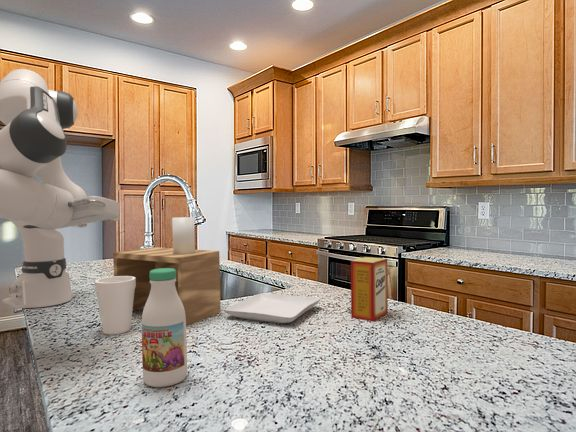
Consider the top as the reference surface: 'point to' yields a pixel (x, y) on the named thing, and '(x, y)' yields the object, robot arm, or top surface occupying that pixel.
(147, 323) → the milk bottle
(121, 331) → the foam cup
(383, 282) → the baking soda box
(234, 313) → the salad plate
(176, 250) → the white pillar candle
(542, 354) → the top surface
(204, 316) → the cubby
